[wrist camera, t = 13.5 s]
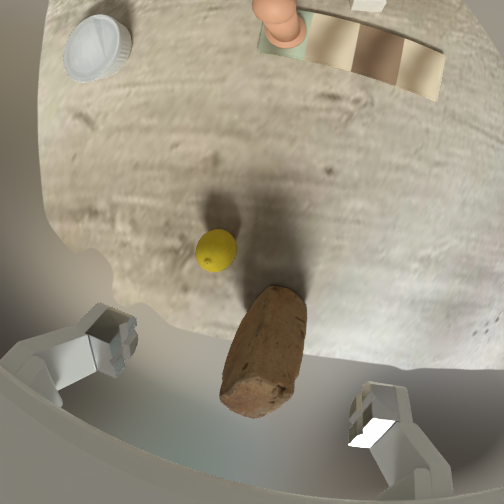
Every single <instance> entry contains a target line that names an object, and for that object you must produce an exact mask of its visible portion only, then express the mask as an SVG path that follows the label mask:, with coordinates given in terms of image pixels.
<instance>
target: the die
mask: <svg viewBox="0 0 504 504" xmlns="http://www.w3.org/2000/svg"><path fill="white" fill-rule="evenodd" d="M385 5H386V0H350V6H351V10H359V11H374V12H381V11H382V9H383V8H384V6H385Z"/></svg>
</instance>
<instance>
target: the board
mask: <svg viewBox="0 0 504 504" xmlns="http://www.w3.org/2000/svg"><path fill="white" fill-rule="evenodd" d="M296 12H297V15H298V16H299V17H301V18H302V19H303V21H304V23H305V25H306V30H307V33H306V37H305V39H304V41H303V42H302V43H301V44H300V45H298V46H296V47H294V48H290V49H283V48H279V47H276V46H274V45H273V44H272V43H271V42H270V41H269V40H268V39H267V37H266V35H265V32H264V27H265V25H264V23H263V27H262V31H261V36H260V41H259V46H258V50H257V51H258V52H261V53H267V54H274V55H280V56H285V57H291V58H296V59H301V60H306V61H310V62H315V63H319V64H323V65H328V66H332V67H336V68H339V69H343V70H347V71H350V72H354V73H357V74H361V75H364V76H367V77H371V78H374V79H377V80H380V81H383V82H386V83H389V84H392V85H395V86H397V87H400V88H403V89H405V90H408V91H411V92H413V93H416V94H418V95H421V96H423V97H426V98H428V99H431V100H433V101H437V100H438V95H439V90H440V85H441V80H442V74H443V69H444V63H445V56H446V55H444V54H441V53H439V52H437V51H435V50H432V49H430V48H428V47H425V46H423V45H420V44H418V43H416V42H413V41H410V40H408V39H405V38H402V37H400V36H397V35H394V34H391V33H388V32H385V31H382V30H379V29H376V28H373V27H369V26H366V25H363V24H359V23H356V22H352V21H348V20H344V19H340V18H336V17H332V16H327V15H323V14H318V13H313V12H308V11H302V10H296Z"/></svg>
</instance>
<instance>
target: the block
mask: <svg viewBox="0 0 504 504" xmlns="http://www.w3.org/2000/svg"><path fill="white" fill-rule="evenodd" d="M306 323H307V307H306V304H305V302H304V301H303V300H302V299H301V298H300V297H299V296H298V295H297V294H296V293H294V292H293V291H291V290H290V289H288V288H285V287H284V288H281V287H277V286H269V287H267V288H266V289H265V290H264V291H263V292H262V293H261V294H260V295H259V296H258V297H257V298H256V300H255V301H254V302H253V304H252V305H251V307H250V308H249V310H248V312H247V313H246V315H245V316H244V318H243V319H242V321H241V324H240V326H239V328H238V330H237V332H236V335H235V337H234V340H233V342H232V344H231V347H230V350H229V353H228V356H227V359H226V362H225V366H224V370H223V377H222V380H223V382H222V385H221V389H220V395H219V396H220V400H221V402H222V403H223V404H224V405H226V406H227V407H228V408H229V409H230V410H231V411H233V412H235V413H237V414H240V415H242V416H246V417H249V418H260V417H262V416H265V415H266V414H268V413H271V412H273V411H275V410H276V409H278V408H279V407H280V406H281V405H282V404H284V403H285V402H286V401H288V400H289V399H290V398H291V397H292V395H293V393H294V382H295V380H296V378H297V377H298V375H299V369H300V364H301V361H302V356H303V349H304V339H305V335H306Z"/></svg>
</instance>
